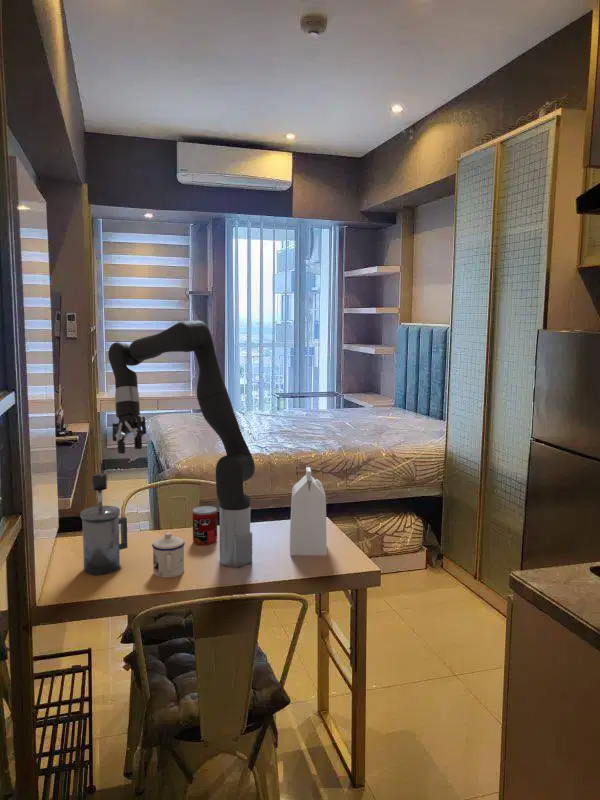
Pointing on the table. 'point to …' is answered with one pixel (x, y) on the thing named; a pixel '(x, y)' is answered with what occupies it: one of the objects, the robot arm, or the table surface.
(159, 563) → the teacup with lid
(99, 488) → the plunger
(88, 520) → the press carafe
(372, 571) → the table surface
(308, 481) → the milk
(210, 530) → the canned food
